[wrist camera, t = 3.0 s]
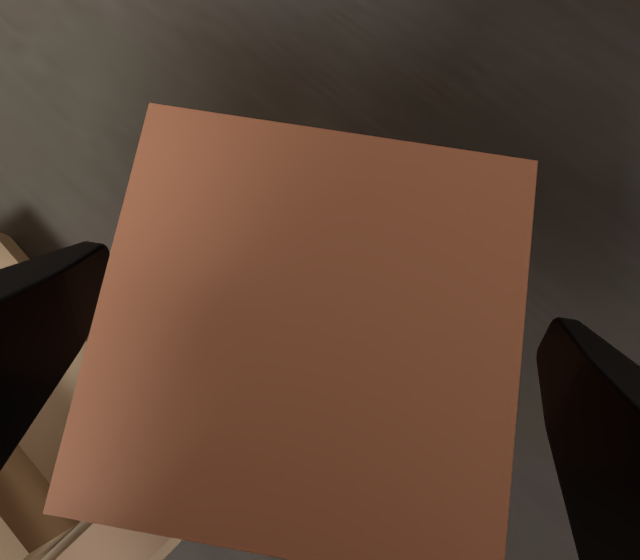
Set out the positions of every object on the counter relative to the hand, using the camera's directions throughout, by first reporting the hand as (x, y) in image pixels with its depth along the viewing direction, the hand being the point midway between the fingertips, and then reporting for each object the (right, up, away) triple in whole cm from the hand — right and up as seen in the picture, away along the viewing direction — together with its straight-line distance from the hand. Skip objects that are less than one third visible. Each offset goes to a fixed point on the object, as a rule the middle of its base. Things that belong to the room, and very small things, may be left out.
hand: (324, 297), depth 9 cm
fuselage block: (0, -2, +7) cm, 7 cm away
